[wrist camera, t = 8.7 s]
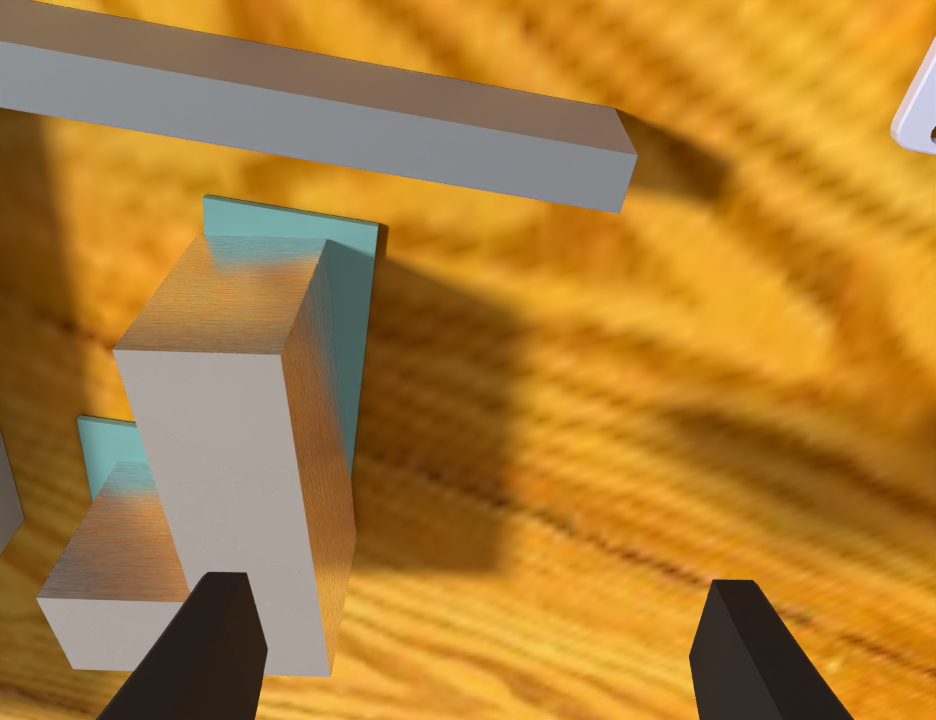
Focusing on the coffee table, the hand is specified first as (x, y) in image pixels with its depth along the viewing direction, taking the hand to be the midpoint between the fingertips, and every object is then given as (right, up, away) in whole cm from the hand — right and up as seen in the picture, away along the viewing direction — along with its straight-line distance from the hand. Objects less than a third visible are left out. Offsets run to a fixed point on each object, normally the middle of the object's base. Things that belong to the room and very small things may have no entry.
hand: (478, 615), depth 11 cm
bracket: (-7, +3, +10) cm, 12 cm away
